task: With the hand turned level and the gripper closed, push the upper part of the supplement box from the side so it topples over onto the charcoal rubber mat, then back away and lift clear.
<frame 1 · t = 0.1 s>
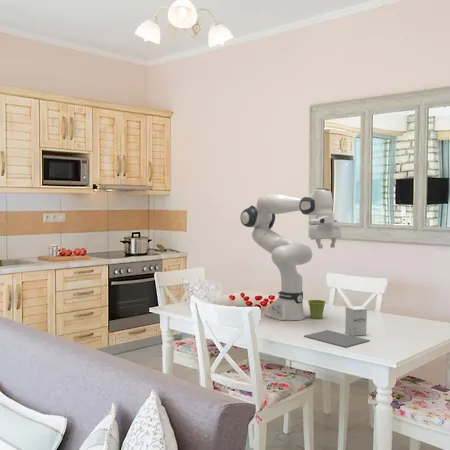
hand: (326, 248, 274), 39 cm above the table, tool pointing down, fingers open, 8 cm apart
supplement box: (355, 334, 259), on the table
plant pot: (316, 317, 294), on the table
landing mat: (336, 338, 250), on the table
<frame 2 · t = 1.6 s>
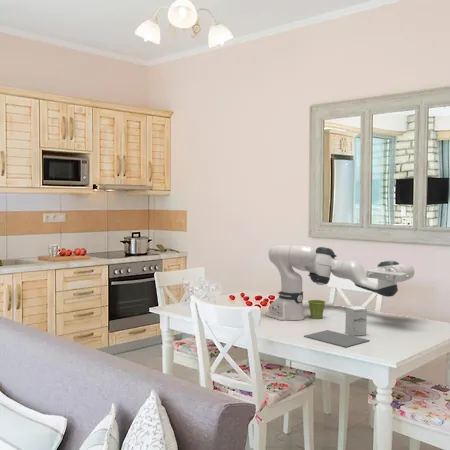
hand: (377, 277, 269), 25 cm above the table, tool horizontal, fingers open, 8 cm apart
nothing on the table moved.
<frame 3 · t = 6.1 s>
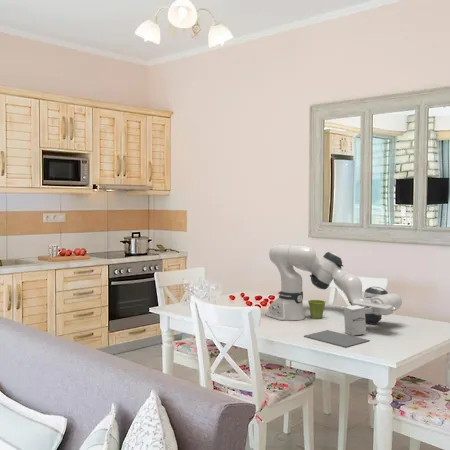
hand: (362, 310, 259), 11 cm above the table, tool horizontal, fingers closed
supplement box: (355, 333, 259), on the table, touching gripper
everything else where it was.
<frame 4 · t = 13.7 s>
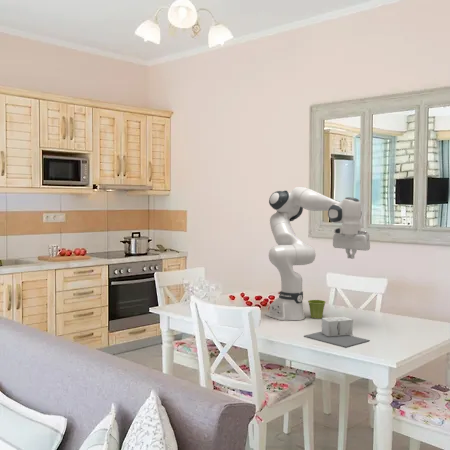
hand: (350, 258, 272), 34 cm above the table, tool pointing down, fingers closed
supplement box: (349, 325, 258), point 4 cm above the table, touching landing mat
everything else where it was.
at the end: supplement box tilted 90°; supplement box touching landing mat; the gripper is holding nothing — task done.
